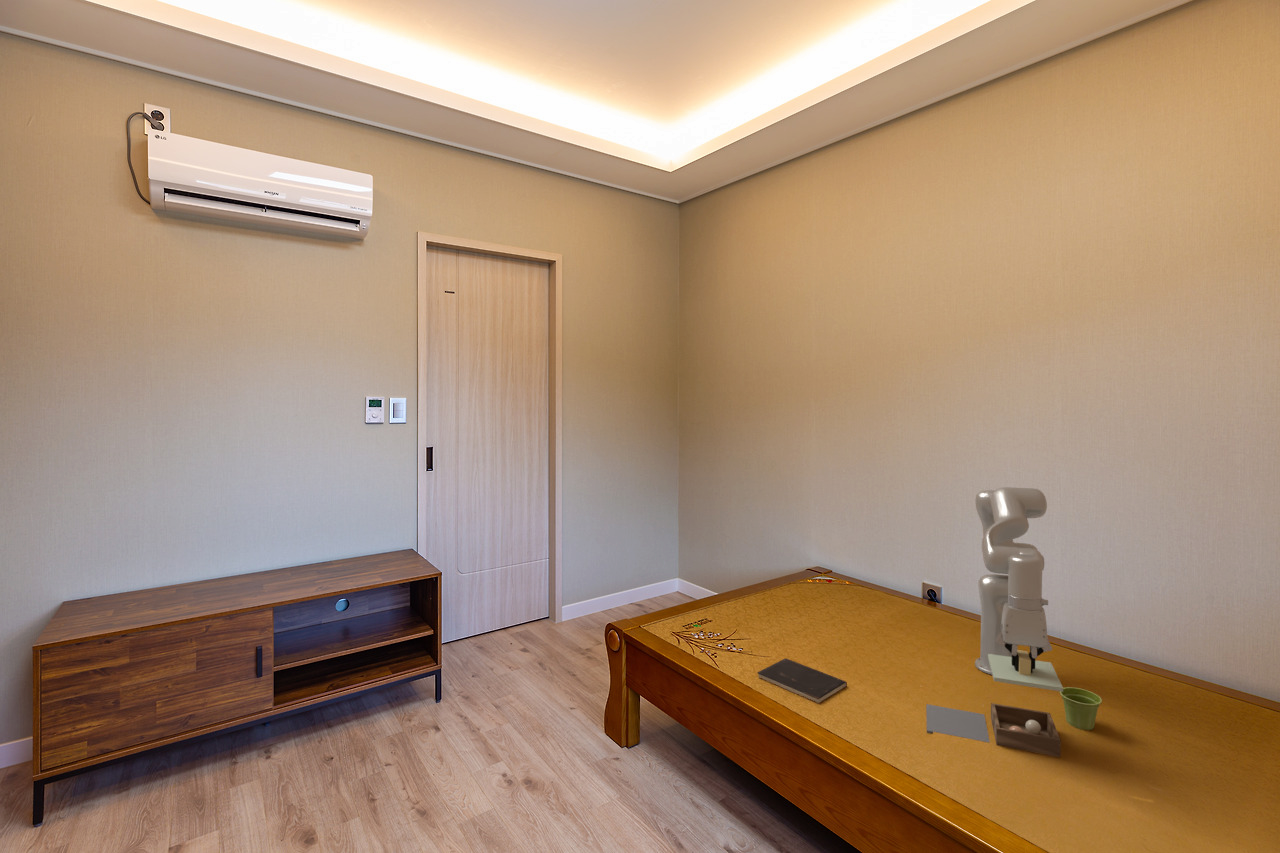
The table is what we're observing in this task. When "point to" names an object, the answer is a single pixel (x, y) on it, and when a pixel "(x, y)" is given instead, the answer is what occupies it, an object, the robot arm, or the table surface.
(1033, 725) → the cream ball
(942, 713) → the felt mat
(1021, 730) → the terracotta ball
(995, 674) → the lid
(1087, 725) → the plant pot
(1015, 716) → the walnut box
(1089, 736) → the table surface
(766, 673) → the hardcover book
